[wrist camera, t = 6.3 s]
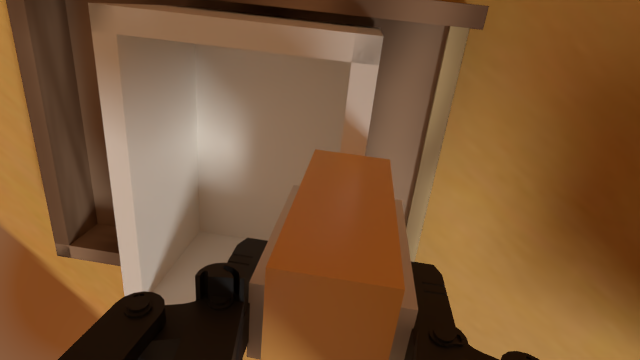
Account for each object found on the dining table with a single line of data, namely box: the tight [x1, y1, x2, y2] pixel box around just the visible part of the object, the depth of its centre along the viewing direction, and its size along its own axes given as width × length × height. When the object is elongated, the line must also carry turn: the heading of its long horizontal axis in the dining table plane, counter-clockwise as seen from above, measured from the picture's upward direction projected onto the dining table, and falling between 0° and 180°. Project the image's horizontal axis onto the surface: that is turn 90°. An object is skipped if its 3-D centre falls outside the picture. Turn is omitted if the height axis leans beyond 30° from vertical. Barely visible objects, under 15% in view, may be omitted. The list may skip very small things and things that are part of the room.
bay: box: [6, 0, 489, 266], centre depth 24 cm, size 24×18×4 cm
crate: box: [88, 3, 405, 360], centre depth 17 cm, size 12×15×16 cm
